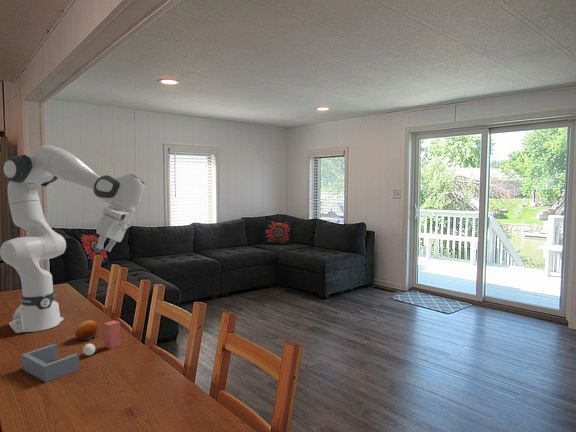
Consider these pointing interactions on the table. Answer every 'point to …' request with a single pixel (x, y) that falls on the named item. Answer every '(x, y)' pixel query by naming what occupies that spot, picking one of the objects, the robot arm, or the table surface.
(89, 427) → the table surface
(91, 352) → the ball
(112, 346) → the red tall block
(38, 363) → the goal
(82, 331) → the fruit
